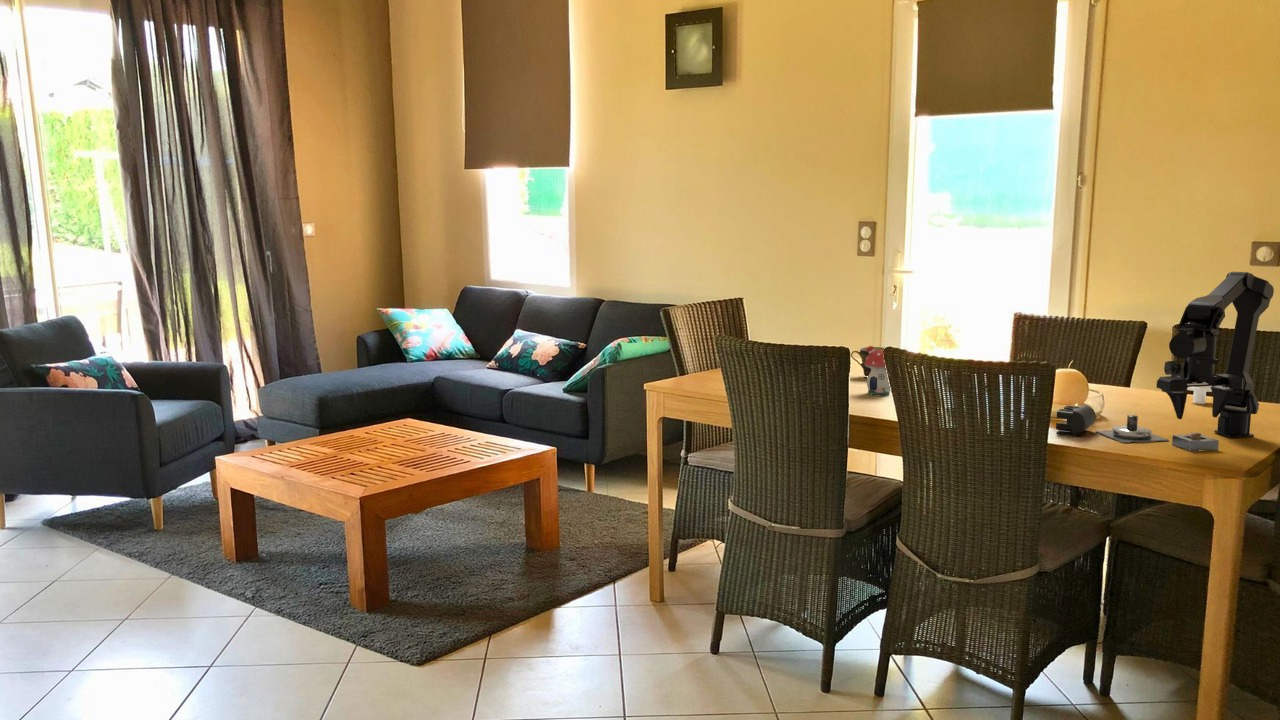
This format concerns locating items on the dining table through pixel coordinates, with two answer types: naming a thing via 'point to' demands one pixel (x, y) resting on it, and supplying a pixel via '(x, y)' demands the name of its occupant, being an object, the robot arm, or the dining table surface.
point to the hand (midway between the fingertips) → (1197, 418)
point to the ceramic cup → (864, 355)
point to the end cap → (1075, 420)
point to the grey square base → (1195, 443)
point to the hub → (1131, 432)
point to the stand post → (1195, 436)
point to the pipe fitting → (1200, 393)
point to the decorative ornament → (877, 373)
